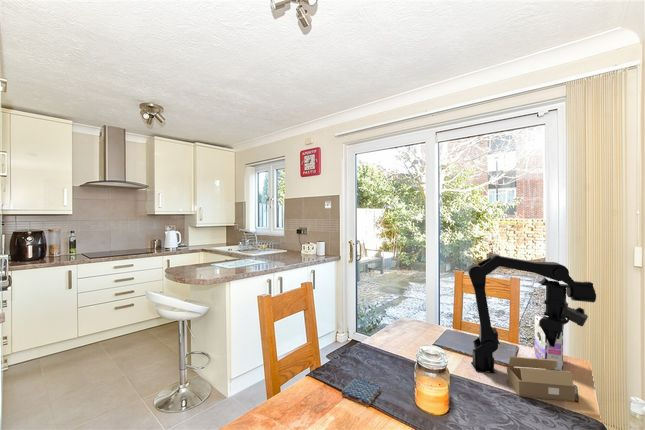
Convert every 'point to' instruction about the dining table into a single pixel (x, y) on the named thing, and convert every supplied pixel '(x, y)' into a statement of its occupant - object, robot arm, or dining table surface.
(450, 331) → the dining table surface
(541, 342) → the candy box
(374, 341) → the dining table surface
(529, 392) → the carton
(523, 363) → the back flap
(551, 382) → the front flap
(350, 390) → the woven mat
